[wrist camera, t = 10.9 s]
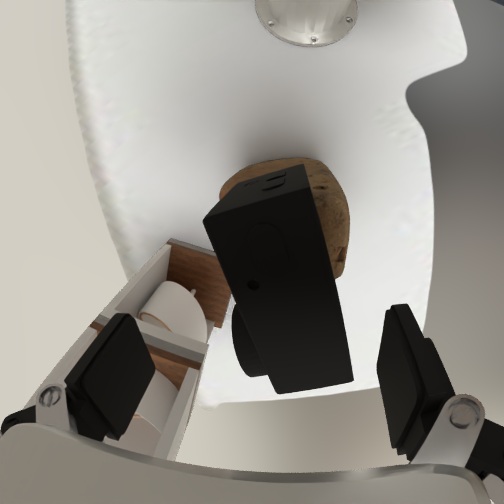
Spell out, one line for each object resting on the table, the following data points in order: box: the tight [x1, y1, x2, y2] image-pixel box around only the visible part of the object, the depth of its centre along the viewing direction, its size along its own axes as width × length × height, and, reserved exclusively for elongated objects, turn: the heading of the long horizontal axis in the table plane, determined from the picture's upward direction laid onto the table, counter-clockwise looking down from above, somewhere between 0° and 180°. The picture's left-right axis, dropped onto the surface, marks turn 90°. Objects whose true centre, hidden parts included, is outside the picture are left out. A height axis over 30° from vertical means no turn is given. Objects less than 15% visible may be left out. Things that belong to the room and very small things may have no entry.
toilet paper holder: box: [23, 238, 232, 461], centre depth 29 cm, size 11×11×35 cm
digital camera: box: [203, 163, 354, 394], centre depth 16 cm, size 10×5×7 cm, turn 19°
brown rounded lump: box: [219, 158, 350, 279], centre depth 28 cm, size 11×8×20 cm
